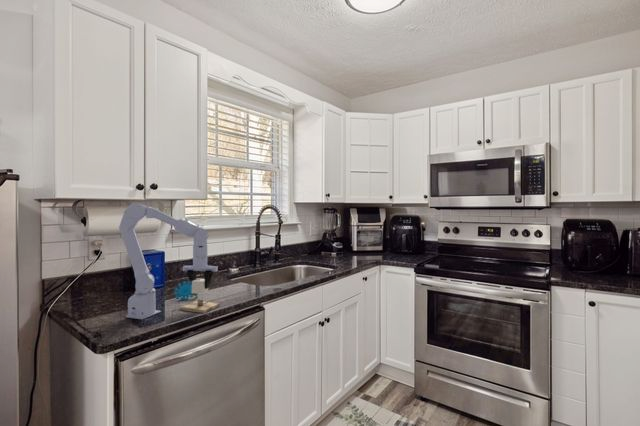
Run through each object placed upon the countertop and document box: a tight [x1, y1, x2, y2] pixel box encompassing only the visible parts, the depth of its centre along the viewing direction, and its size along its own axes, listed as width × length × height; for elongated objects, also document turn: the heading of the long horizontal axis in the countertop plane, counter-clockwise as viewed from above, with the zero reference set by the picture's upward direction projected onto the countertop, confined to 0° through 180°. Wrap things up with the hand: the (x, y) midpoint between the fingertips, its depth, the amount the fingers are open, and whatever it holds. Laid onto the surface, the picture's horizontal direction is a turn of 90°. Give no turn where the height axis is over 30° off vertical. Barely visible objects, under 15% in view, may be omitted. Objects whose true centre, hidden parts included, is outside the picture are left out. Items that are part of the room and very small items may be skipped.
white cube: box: [191, 278, 210, 294], centre depth 138 cm, size 5×5×5 cm
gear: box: [173, 280, 198, 301], centre depth 153 cm, size 11×6×10 cm
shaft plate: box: [179, 298, 221, 314], centre depth 138 cm, size 10×12×4 cm
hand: (200, 288), depth 138 cm, fingers closed on white cube, 5 cm apart
